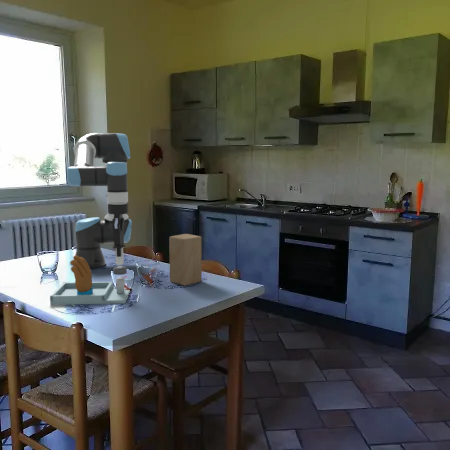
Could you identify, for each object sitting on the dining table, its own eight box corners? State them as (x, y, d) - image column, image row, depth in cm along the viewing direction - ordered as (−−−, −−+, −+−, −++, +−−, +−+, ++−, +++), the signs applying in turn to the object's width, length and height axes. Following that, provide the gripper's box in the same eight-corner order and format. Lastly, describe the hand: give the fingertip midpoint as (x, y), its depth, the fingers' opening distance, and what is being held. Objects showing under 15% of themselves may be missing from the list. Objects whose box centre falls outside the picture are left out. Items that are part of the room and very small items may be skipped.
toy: (83, 288, 182) (81, 251, 179) (99, 289, 180) (98, 252, 178) (67, 297, 170) (65, 258, 168) (84, 298, 169) (82, 259, 166)
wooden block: (169, 281, 196) (168, 236, 193) (186, 277, 204) (186, 233, 201) (184, 286, 190) (184, 239, 187) (202, 281, 197) (201, 236, 194)
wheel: (114, 271, 177) (114, 265, 177) (127, 271, 177) (127, 265, 177) (112, 274, 172) (112, 268, 172) (125, 274, 172) (125, 268, 172)
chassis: (64, 290, 183) (63, 273, 182) (131, 289, 185) (131, 272, 184) (50, 304, 165) (49, 286, 164) (125, 303, 167) (124, 285, 166)
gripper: (110, 201, 177) (112, 260, 180) (104, 205, 164) (106, 268, 167) (130, 201, 177) (131, 260, 181) (125, 205, 164) (127, 268, 168)
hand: (119, 264), depth 174 cm, fingers closed
